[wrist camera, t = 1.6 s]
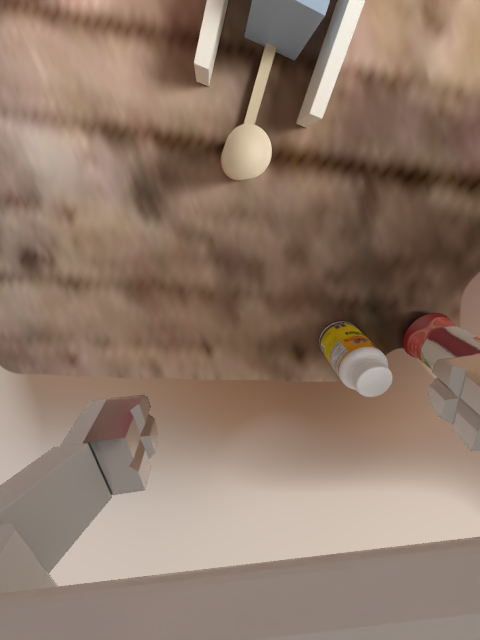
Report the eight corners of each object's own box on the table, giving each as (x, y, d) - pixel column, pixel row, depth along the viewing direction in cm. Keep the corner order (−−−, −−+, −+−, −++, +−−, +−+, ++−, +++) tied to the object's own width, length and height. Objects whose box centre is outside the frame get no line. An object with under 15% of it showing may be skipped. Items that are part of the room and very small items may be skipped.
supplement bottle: (365, 328, 40) (411, 371, 31) (341, 360, 42) (379, 409, 33) (332, 312, 39) (370, 352, 29) (309, 346, 40) (339, 394, 31)
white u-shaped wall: (242, -132, 22) (249, -204, 18) (370, -55, 25) (402, -103, 20) (196, 81, 27) (193, 63, 23) (306, 128, 30) (322, 118, 26)
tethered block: (262, -38, 24) (289, -149, 16) (316, -9, 25) (366, -100, 17) (210, 171, 30) (209, 165, 22) (255, 187, 31) (270, 188, 23)
